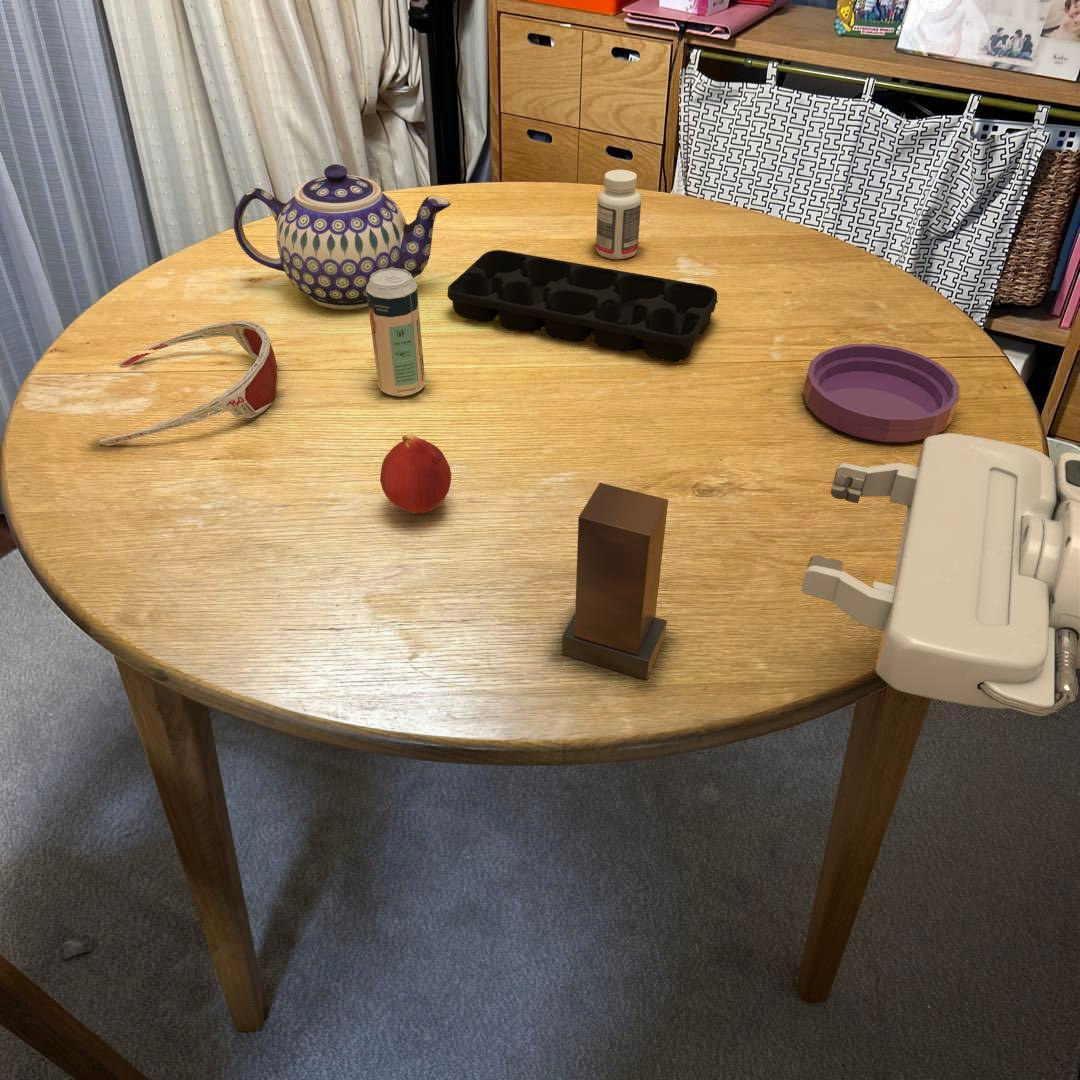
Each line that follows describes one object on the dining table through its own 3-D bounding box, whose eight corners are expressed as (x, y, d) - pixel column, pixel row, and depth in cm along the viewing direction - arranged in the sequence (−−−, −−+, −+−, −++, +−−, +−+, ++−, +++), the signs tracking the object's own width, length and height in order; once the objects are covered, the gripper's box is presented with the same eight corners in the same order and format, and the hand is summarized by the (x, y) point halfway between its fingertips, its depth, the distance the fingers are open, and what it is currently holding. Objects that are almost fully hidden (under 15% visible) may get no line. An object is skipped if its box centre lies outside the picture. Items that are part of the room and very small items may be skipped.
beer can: (400, 370, 101) (389, 261, 93) (435, 384, 98) (426, 274, 91) (368, 390, 98) (354, 279, 90) (403, 405, 95) (392, 292, 88)
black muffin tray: (709, 370, 101) (714, 338, 98) (432, 343, 105) (430, 312, 102) (717, 296, 114) (721, 266, 111) (471, 275, 118) (470, 245, 116)
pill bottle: (634, 242, 125) (639, 166, 119) (640, 260, 121) (646, 182, 115) (593, 243, 125) (596, 167, 119) (597, 261, 121) (601, 183, 115)
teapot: (228, 316, 110) (198, 186, 100) (267, 260, 121) (244, 139, 112) (445, 324, 108) (436, 194, 99) (464, 267, 120) (457, 145, 110)
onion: (424, 482, 86) (417, 406, 80) (467, 511, 83) (462, 433, 77) (372, 511, 83) (361, 433, 77) (414, 542, 79) (405, 463, 74)
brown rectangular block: (665, 639, 71) (682, 500, 63) (646, 680, 68) (662, 540, 60) (582, 615, 73) (588, 477, 65) (561, 654, 70) (564, 515, 61)
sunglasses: (287, 429, 92) (268, 385, 88) (113, 476, 91) (87, 433, 88) (285, 342, 104) (269, 301, 101) (133, 382, 104) (111, 342, 100)
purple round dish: (951, 382, 99) (959, 356, 97) (949, 458, 89) (959, 431, 87) (811, 359, 102) (816, 334, 100) (794, 430, 92) (799, 404, 90)
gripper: (1055, 764, 47) (774, 682, 51) (1056, 522, 62) (837, 473, 66) (1103, 678, 43) (795, 597, 47) (1092, 440, 58) (857, 393, 62)
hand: (820, 523), depth 57 cm, fingers open, 8 cm apart
